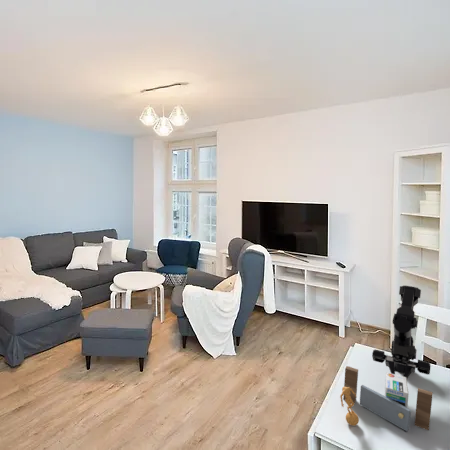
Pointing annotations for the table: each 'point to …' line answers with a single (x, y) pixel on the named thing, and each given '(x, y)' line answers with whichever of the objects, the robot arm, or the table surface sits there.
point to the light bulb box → (396, 388)
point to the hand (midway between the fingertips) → (398, 385)
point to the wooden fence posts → (421, 407)
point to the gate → (385, 407)
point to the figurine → (350, 416)
